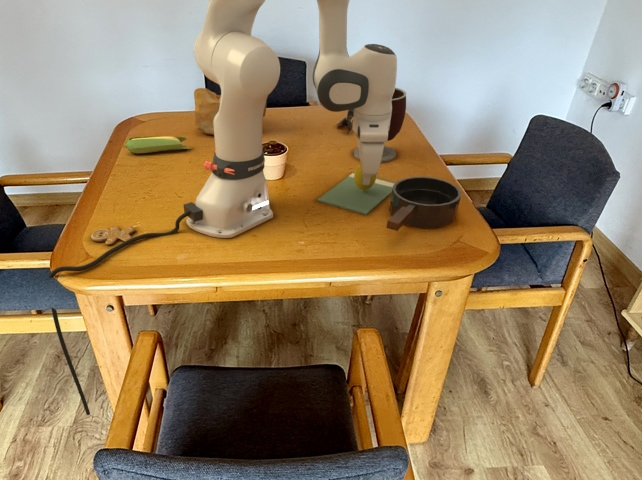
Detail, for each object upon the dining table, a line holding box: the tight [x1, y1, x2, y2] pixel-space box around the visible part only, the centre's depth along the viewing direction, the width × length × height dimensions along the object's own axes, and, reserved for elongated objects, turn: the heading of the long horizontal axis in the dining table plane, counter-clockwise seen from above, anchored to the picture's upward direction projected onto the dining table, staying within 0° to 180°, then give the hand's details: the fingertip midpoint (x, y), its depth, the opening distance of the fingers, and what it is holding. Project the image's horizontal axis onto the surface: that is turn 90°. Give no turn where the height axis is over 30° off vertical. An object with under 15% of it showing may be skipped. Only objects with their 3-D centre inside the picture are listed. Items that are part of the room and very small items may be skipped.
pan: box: [388, 176, 462, 229], centre depth 128 cm, size 16×16×6 cm
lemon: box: [354, 162, 377, 191], centre depth 136 cm, size 6×6×8 cm
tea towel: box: [316, 172, 396, 216], centre depth 139 cm, size 20×14×1 cm
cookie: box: [91, 225, 136, 246], centre depth 125 cm, size 8×1×10 cm
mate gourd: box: [353, 87, 407, 163], centre depth 152 cm, size 16×14×20 cm
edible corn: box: [124, 135, 191, 155], centre depth 162 cm, size 5×20×5 cm, turn 98°
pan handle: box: [385, 204, 416, 232], centre depth 119 cm, size 12×3×2 cm, turn 145°
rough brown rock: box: [193, 87, 268, 136], centre depth 173 cm, size 23×17×15 cm
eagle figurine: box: [336, 109, 354, 135], centre depth 172 cm, size 8×7×9 cm
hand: (364, 178), depth 136 cm, fingers closed on lemon, 5 cm apart
